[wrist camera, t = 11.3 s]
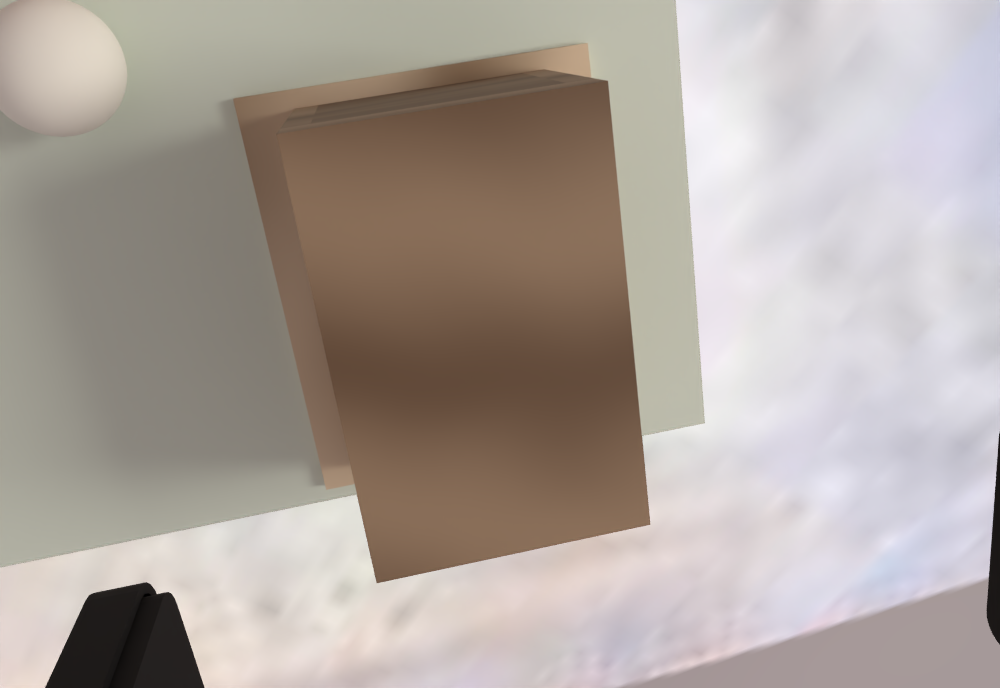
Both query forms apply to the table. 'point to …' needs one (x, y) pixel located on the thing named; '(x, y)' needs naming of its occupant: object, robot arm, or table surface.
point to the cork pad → (266, 167)
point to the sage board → (260, 256)
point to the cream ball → (58, 67)
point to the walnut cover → (473, 314)
